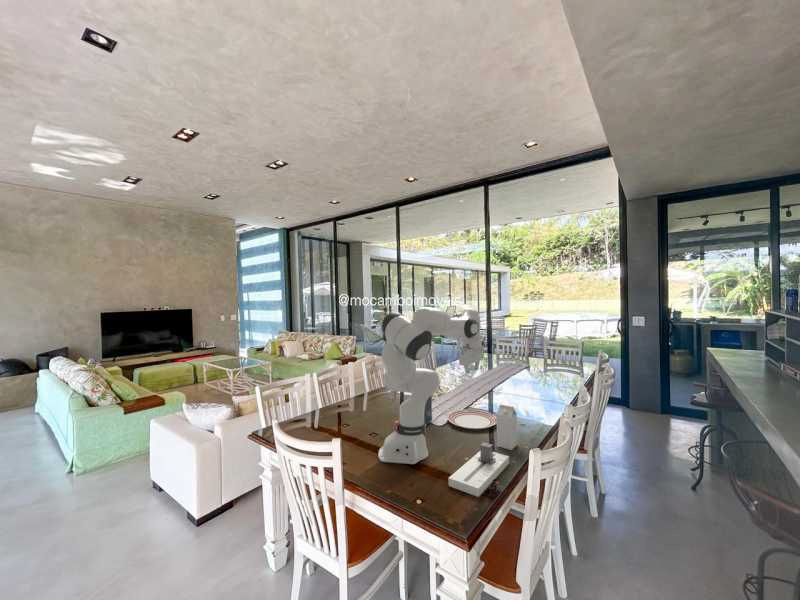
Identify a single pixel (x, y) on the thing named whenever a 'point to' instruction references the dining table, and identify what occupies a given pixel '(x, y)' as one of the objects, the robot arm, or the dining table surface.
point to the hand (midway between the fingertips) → (472, 371)
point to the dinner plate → (472, 419)
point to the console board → (478, 474)
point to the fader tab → (486, 453)
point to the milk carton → (506, 427)
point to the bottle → (428, 410)
